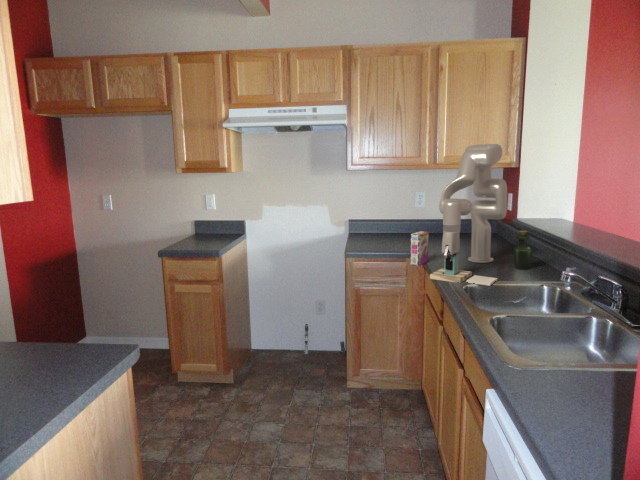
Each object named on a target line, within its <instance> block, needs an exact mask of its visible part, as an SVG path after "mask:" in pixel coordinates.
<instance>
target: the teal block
mask: <svg viewBox="0 0 640 480" xmlns="http://www.w3.org/2000/svg"><path fill="white" fill-rule="evenodd" d="M448 256H449V255H448ZM449 257H450V256H449ZM452 261H453V270H447V269H445V266H444V274H447V275H457V274H458V270H459V254H457V255H452Z"/></svg>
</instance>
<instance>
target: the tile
mask: <svg viewBox="0 0 640 480" xmlns="http://www.w3.org/2000/svg"><path fill="white" fill-rule="evenodd" d="M465 281H466V282H468V283H467V284H473V283H475V285H481V286H489V287H490V286H492V285H493V284H494V282H495V281H496V282H497V281H498V278H497V277H491V276H484V275H483V276H482V275H476V274H474V275H473V276H471V277H469V278H467V279H466V280H465ZM496 282H495V283H496Z"/></svg>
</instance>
